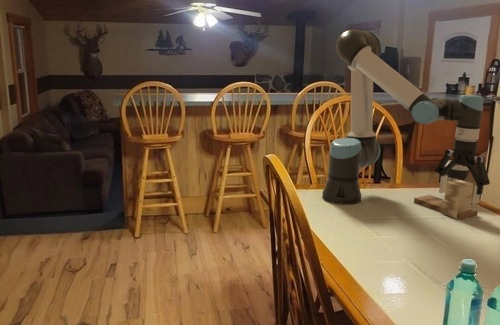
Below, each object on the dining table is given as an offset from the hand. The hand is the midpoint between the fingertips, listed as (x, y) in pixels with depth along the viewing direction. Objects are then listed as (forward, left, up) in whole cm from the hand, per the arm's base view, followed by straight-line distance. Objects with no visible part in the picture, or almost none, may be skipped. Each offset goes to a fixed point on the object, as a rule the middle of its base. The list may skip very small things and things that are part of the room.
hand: (458, 197), depth 170 cm
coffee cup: (-13, +17, -7) cm, 22 cm away
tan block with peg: (0, +1, -6) cm, 6 cm away
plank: (-6, +2, -7) cm, 9 cm away
